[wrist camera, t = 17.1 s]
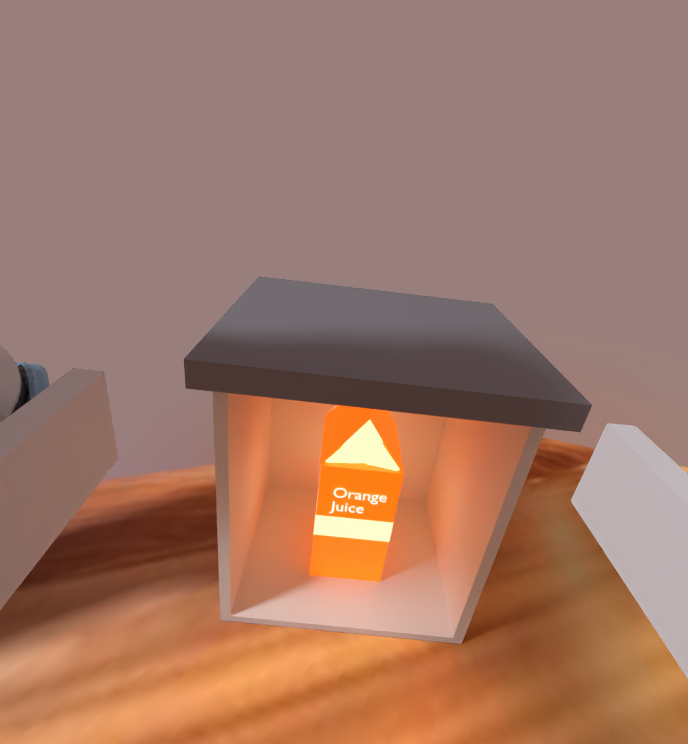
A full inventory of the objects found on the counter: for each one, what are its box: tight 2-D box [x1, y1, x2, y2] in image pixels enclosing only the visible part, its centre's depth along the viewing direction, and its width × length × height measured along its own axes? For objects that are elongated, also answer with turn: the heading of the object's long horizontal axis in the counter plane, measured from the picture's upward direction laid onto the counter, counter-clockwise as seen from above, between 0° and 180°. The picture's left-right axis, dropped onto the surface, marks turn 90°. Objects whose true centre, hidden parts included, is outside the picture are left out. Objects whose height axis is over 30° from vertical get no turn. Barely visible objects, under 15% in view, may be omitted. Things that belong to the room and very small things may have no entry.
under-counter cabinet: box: [184, 277, 592, 644], centre depth 41 cm, size 25×21×28 cm
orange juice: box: [309, 405, 404, 582], centre depth 43 cm, size 8×9×20 cm
